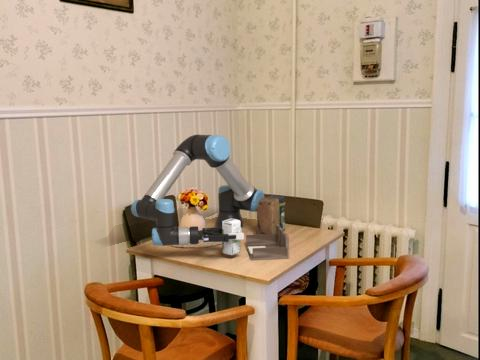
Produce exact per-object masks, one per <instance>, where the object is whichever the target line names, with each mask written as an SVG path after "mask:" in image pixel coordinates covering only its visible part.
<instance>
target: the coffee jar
mask: <svg viewBox="0 0 480 360" xmlns="http://www.w3.org/2000/svg"><path fill="white" fill-rule="evenodd" d="M267 197H272V198H277V199H278V200H279V210H280V227H281V228H282V229H283V231H285V229H286V215H285V207H286V202H287V201H286V197H285V196H284V195H276V194H270V195H268V196H267Z"/></svg>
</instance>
